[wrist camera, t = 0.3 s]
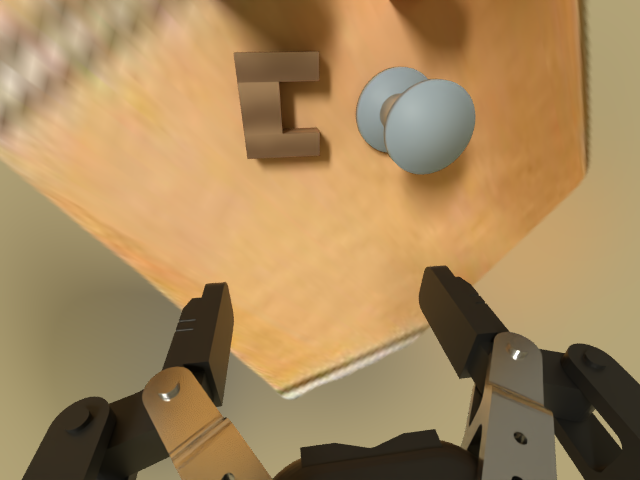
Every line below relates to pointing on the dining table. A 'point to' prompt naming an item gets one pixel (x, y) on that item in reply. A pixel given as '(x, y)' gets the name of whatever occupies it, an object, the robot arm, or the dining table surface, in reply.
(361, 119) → the bobbin
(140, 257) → the dining table surface
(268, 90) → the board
